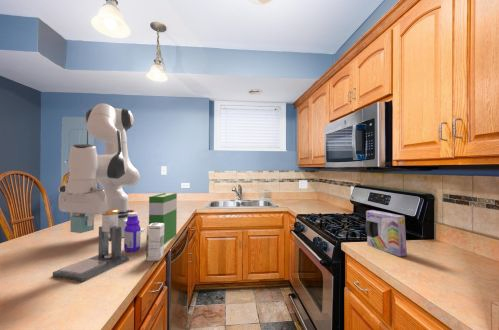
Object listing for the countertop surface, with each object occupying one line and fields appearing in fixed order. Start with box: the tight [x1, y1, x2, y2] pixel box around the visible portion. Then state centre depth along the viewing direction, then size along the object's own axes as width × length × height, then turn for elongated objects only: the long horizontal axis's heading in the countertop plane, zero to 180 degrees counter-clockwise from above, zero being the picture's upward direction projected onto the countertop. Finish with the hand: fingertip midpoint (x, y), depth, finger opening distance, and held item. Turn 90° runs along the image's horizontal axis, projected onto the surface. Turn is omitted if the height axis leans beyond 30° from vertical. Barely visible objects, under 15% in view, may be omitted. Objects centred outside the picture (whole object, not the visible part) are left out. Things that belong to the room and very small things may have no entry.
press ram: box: [100, 209, 119, 242], centre depth 97 cm, size 6×6×12 cm
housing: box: [70, 213, 95, 234], centre depth 87 cm, size 5×5×7 cm
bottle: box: [123, 211, 142, 253], centre depth 110 cm, size 7×6×17 cm
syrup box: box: [145, 223, 165, 262], centre depth 100 cm, size 6×6×14 cm
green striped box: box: [148, 192, 178, 245], centre depth 127 cm, size 18×7×24 cm, turn 176°
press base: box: [52, 225, 130, 283], centre depth 90 cm, size 20×14×14 cm
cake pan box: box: [365, 209, 408, 257], centre depth 111 cm, size 19×5×18 cm, turn 18°
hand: (82, 225), depth 87 cm, fingers closed on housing, 5 cm apart
